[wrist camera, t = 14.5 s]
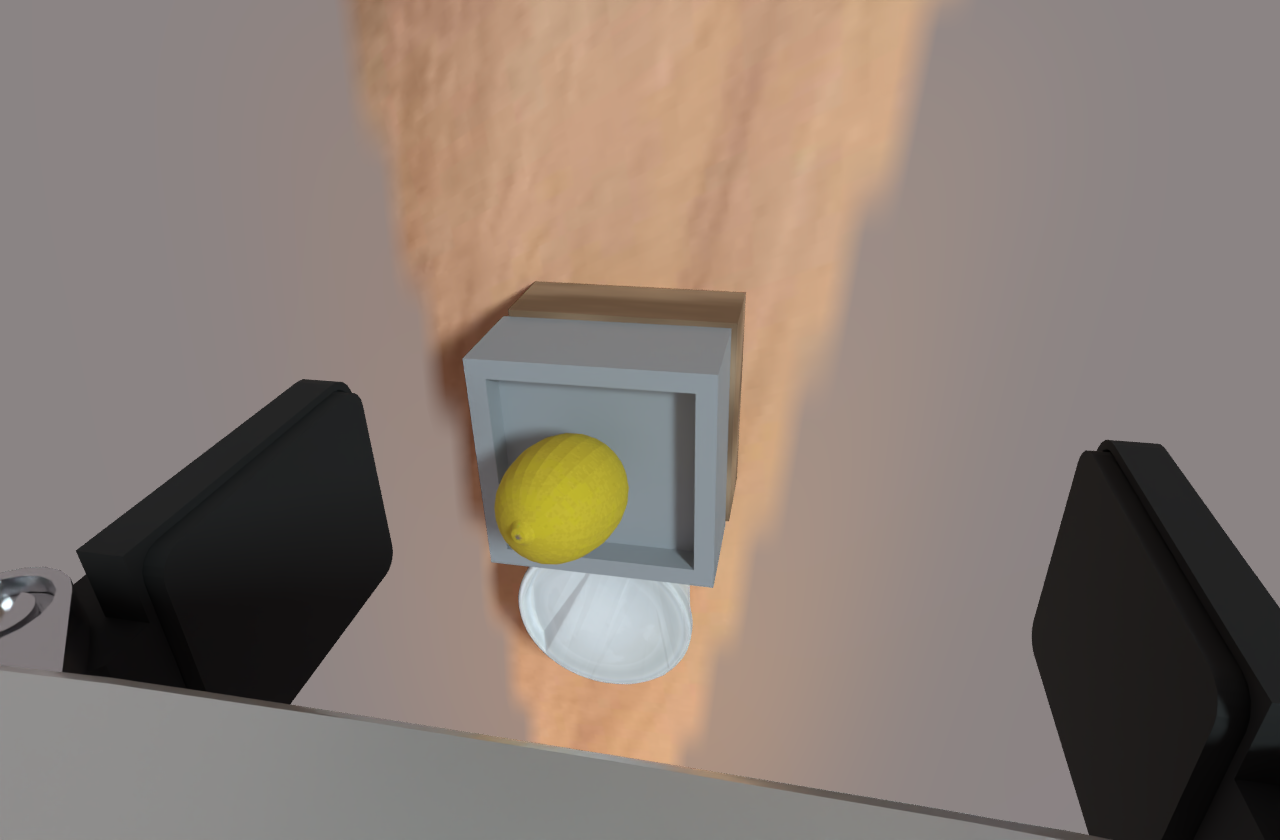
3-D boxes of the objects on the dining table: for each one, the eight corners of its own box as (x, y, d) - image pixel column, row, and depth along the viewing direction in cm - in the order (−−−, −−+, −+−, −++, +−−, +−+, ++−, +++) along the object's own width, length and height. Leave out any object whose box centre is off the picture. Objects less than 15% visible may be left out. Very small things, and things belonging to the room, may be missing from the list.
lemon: (559, 504, 42) (470, 582, 36) (550, 405, 40) (454, 467, 34) (655, 521, 40) (580, 607, 33) (652, 417, 38) (571, 486, 31)
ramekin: (529, 497, 54) (501, 545, 49) (694, 499, 51) (681, 550, 47) (556, 625, 59) (534, 679, 54) (708, 633, 56) (697, 691, 52)
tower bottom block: (537, 278, 46) (508, 309, 42) (746, 289, 44) (737, 323, 40) (552, 457, 52) (527, 499, 48) (737, 474, 50) (728, 521, 46)
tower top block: (503, 316, 42) (462, 358, 38) (731, 328, 40) (718, 375, 35) (524, 504, 48) (491, 562, 43) (725, 524, 46) (713, 587, 41)
